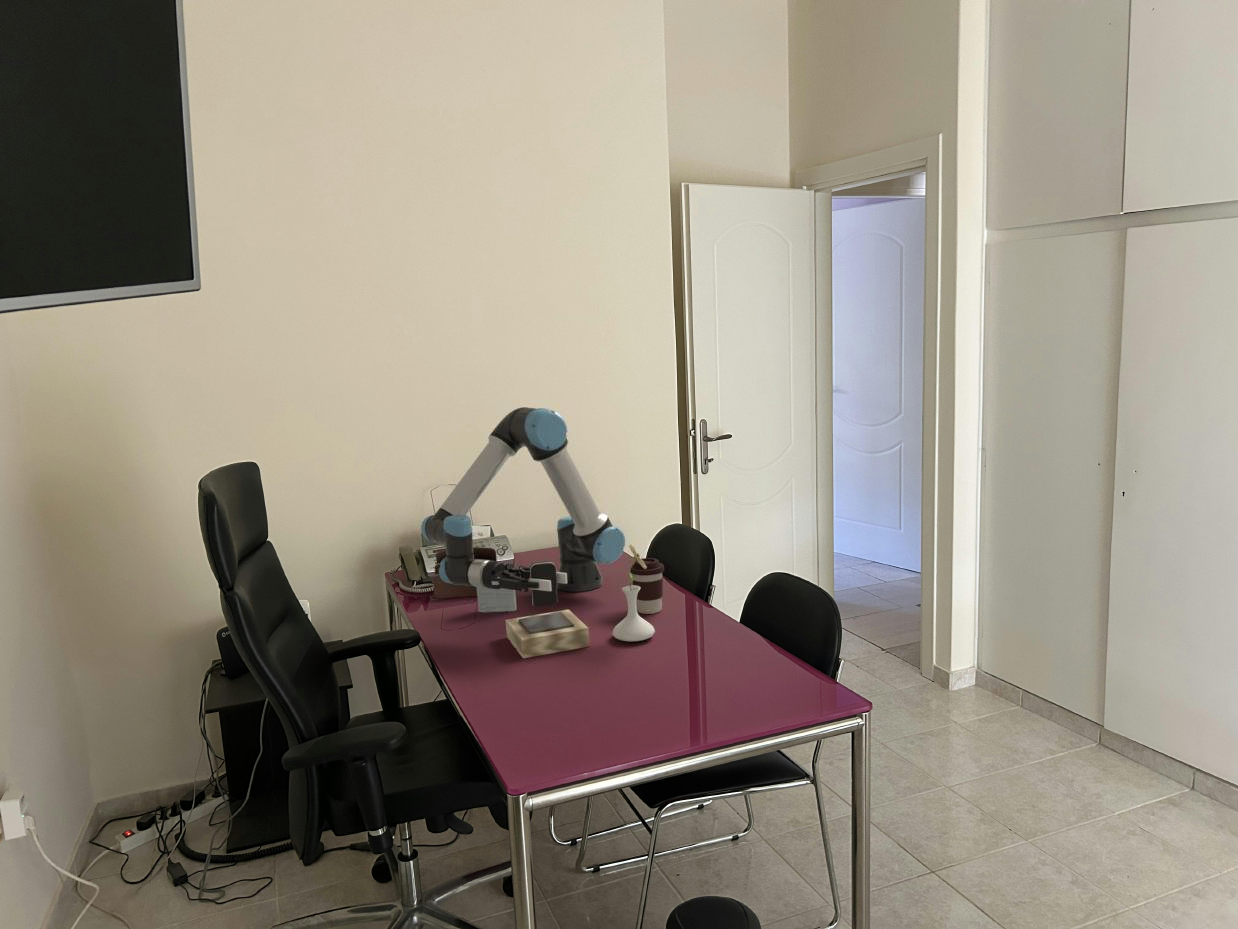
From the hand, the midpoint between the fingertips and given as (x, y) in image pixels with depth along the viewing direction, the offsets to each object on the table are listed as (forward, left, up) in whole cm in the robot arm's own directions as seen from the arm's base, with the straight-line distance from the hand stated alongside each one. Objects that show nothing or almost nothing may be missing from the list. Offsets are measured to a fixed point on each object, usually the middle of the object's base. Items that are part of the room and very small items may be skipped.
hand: (558, 582), depth 239 cm
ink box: (+9, -38, -17) cm, 43 cm away
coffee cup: (-31, -15, -17) cm, 38 cm away
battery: (+3, -4, -7) cm, 8 cm away
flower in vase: (-19, +4, -17) cm, 26 cm away
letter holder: (+14, -63, -17) cm, 67 cm away
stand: (+3, -4, -17) cm, 18 cm away
